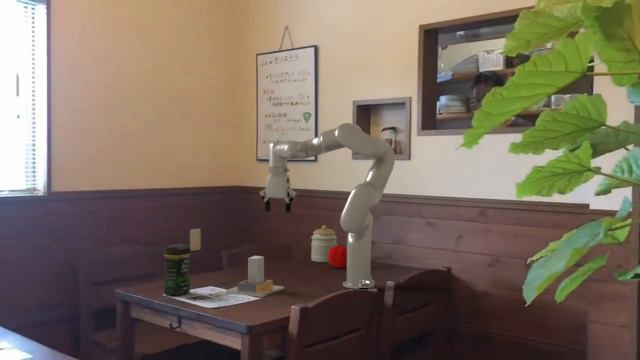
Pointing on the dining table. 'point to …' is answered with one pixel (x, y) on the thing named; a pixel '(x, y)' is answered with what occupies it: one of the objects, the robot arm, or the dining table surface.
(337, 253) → the tomato
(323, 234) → the jar
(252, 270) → the skincare box
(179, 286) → the coffee jar
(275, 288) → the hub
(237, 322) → the dining table surface
